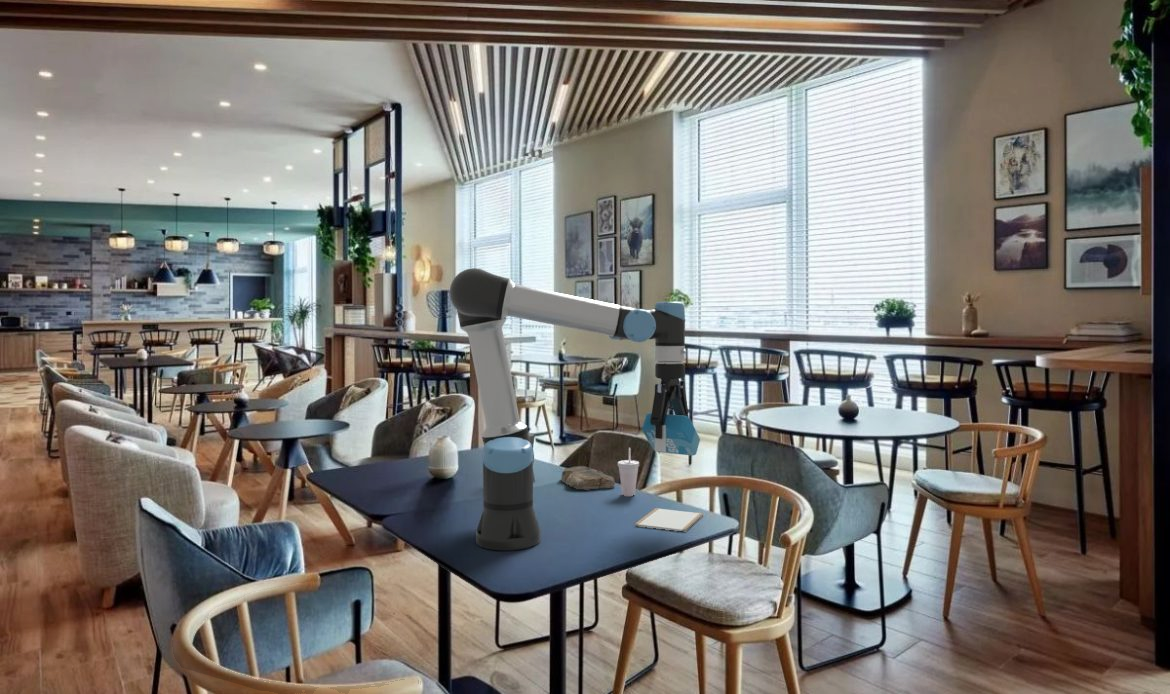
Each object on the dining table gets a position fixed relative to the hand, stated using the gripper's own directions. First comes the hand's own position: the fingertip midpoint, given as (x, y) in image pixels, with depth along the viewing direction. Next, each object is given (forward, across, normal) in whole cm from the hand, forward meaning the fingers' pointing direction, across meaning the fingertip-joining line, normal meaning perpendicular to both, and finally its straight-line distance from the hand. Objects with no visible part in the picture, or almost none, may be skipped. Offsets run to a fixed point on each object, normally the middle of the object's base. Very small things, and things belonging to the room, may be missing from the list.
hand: (670, 447), depth 185 cm
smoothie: (+19, +19, +21) cm, 34 cm away
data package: (-3, 0, -6) cm, 7 cm away
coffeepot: (+19, +19, +59) cm, 65 cm away
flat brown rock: (+19, +26, +40) cm, 52 cm away
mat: (+19, 0, 0) cm, 19 cm away
